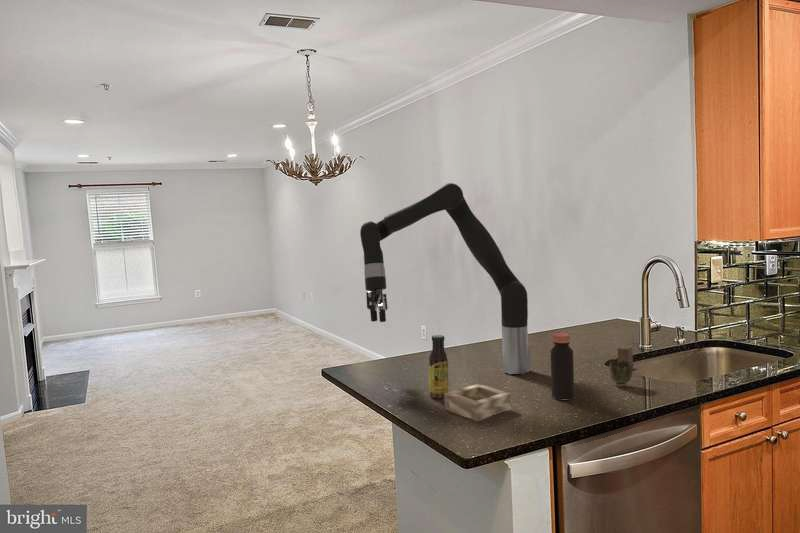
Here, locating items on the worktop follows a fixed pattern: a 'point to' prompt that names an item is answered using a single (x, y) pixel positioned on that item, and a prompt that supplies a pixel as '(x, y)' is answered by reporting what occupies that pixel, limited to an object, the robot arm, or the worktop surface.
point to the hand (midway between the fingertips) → (378, 321)
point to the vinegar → (562, 367)
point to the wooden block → (625, 354)
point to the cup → (621, 372)
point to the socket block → (477, 401)
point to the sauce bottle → (438, 368)
